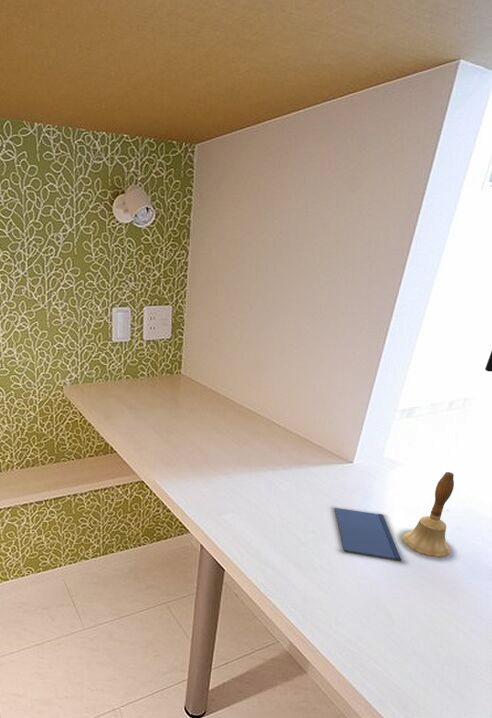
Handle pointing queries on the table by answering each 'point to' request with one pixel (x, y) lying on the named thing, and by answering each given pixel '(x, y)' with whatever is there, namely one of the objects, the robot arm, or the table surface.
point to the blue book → (366, 534)
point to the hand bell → (432, 524)
